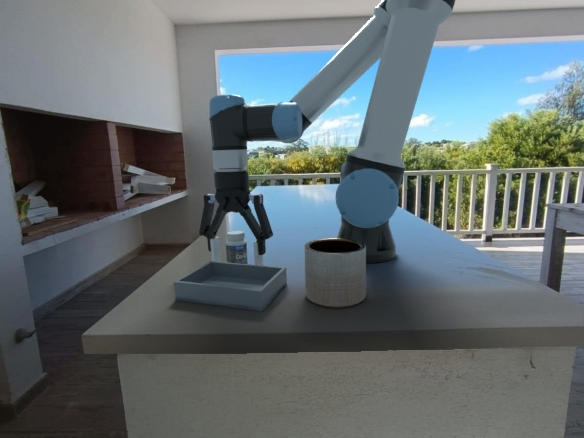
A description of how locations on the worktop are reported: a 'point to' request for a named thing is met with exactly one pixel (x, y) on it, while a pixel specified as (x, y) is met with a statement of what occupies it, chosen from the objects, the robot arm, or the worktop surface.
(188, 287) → the grey tray
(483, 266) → the worktop surface
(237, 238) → the pill bottle
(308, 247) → the planter
